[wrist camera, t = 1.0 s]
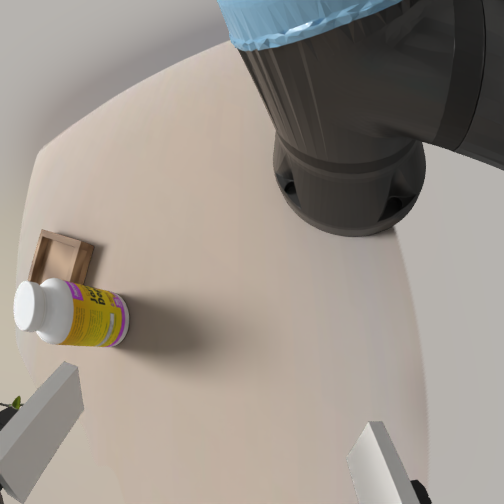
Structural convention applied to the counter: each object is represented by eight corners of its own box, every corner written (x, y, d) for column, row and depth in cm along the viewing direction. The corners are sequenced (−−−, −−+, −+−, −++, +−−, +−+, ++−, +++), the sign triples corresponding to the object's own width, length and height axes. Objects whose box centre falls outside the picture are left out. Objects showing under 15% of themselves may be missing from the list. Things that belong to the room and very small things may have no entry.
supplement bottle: (139, 305, 32) (47, 287, 20) (121, 356, 31) (30, 356, 19) (104, 284, 34) (20, 260, 23) (88, 331, 34) (4, 320, 22)
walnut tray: (53, 233, 41) (41, 229, 38) (94, 246, 37) (81, 240, 34) (34, 304, 39) (23, 301, 36) (72, 330, 34) (59, 329, 32)
